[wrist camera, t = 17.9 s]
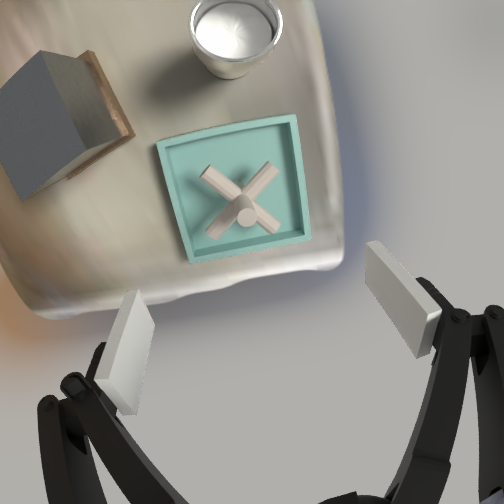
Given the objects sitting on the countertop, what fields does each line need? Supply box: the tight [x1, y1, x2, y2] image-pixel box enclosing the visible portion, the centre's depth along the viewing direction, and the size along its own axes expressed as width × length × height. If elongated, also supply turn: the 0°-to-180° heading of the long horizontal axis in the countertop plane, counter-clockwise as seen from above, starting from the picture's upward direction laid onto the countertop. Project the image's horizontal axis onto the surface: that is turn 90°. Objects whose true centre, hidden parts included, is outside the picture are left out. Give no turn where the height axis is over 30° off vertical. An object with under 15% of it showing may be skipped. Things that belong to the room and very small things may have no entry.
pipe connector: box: [199, 161, 281, 240], centre depth 32 cm, size 10×10×10 cm
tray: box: [156, 114, 312, 264], centre depth 36 cm, size 16×16×3 cm
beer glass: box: [188, 0, 283, 79], centre depth 23 cm, size 7×7×15 cm
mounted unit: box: [0, 50, 136, 202], centre depth 24 cm, size 13×10×13 cm
